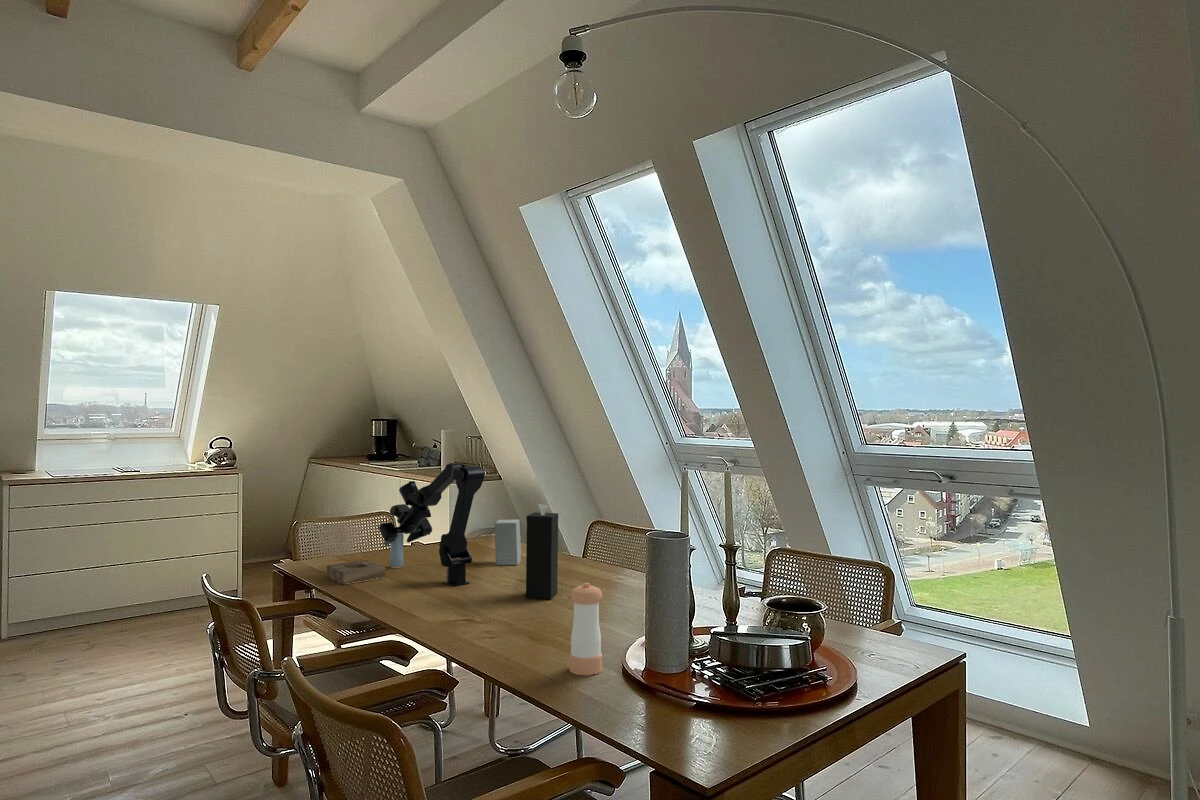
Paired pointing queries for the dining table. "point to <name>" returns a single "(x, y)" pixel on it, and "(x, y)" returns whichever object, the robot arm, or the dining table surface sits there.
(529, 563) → the tissue box
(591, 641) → the salt shaker
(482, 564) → the dining table surface
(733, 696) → the dining table surface
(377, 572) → the socket block
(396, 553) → the peg
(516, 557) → the skincare box
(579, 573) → the dining table surface
